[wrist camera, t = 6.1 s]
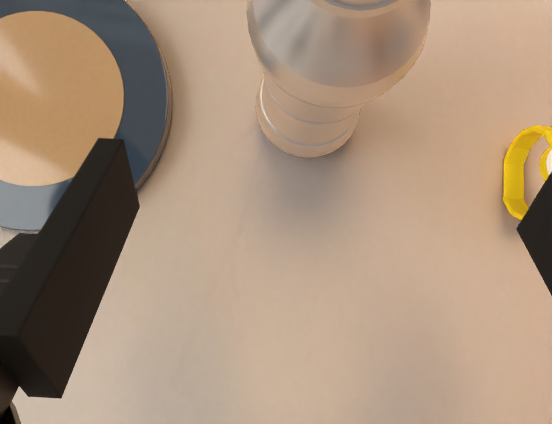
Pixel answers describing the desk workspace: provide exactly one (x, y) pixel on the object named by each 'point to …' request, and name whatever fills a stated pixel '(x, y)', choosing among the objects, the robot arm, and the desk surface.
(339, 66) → the silver metal bottle
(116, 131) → the plate
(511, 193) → the watch
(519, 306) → the desk surface
